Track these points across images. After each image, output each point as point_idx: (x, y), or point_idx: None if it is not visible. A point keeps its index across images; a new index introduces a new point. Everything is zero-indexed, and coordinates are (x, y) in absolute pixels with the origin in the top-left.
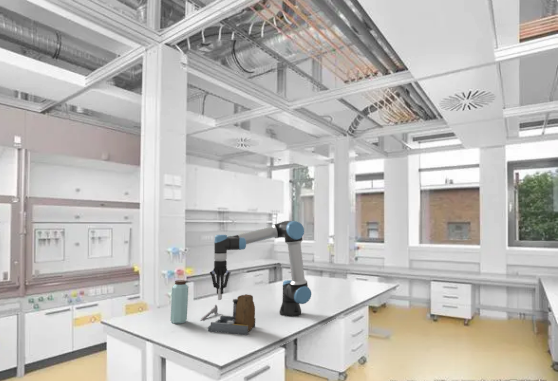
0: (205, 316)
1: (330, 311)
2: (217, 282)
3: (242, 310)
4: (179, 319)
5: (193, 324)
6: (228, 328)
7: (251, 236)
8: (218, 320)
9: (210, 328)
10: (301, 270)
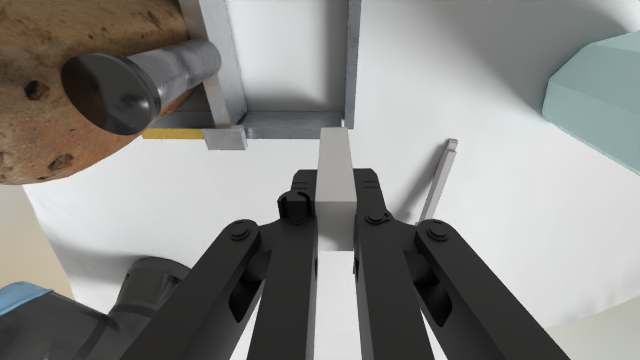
0: (439, 175)
1: (98, 308)
2: (393, 314)
3: None
4: (610, 44)
5: (487, 60)
6: None
7: None
8: (347, 108)
9: None
10: None
